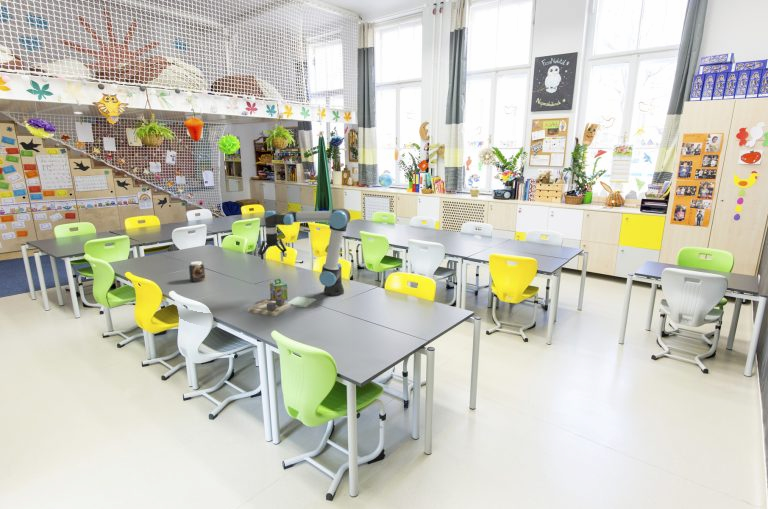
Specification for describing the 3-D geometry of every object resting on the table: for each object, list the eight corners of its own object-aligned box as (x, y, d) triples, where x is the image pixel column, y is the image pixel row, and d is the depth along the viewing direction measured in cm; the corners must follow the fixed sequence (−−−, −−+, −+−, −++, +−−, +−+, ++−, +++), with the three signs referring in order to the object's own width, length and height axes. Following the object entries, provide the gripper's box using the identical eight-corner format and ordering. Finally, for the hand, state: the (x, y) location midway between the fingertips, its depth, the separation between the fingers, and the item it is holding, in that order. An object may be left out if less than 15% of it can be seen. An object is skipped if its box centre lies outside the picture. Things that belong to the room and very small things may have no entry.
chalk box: (276, 302, 283) (275, 282, 280) (270, 299, 290) (268, 279, 286) (288, 299, 290) (287, 279, 286) (281, 296, 296) (280, 276, 293)
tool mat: (316, 300, 289) (316, 298, 288) (305, 307, 275) (305, 305, 275) (297, 297, 293) (297, 296, 293) (286, 304, 279) (286, 303, 279)
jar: (186, 281, 328) (184, 263, 325) (197, 277, 339) (195, 260, 335) (198, 283, 324) (196, 264, 321) (208, 279, 335) (207, 261, 332)
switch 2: (284, 303, 274) (284, 297, 273) (281, 305, 271) (280, 299, 270) (279, 302, 276) (278, 297, 275) (275, 304, 272) (275, 299, 271)
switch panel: (290, 306, 277) (290, 303, 276) (274, 316, 259) (274, 313, 259) (265, 302, 283) (265, 299, 282) (248, 312, 265) (248, 309, 265)
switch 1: (275, 308, 265) (275, 302, 264) (272, 310, 261) (272, 304, 260) (270, 307, 266) (270, 302, 265) (267, 310, 263) (266, 304, 262)
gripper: (285, 230, 296) (287, 258, 301) (251, 234, 281) (254, 263, 286) (290, 231, 290) (291, 260, 295) (255, 235, 276) (257, 266, 280)
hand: (273, 262), depth 291 cm, fingers open, 13 cm apart
